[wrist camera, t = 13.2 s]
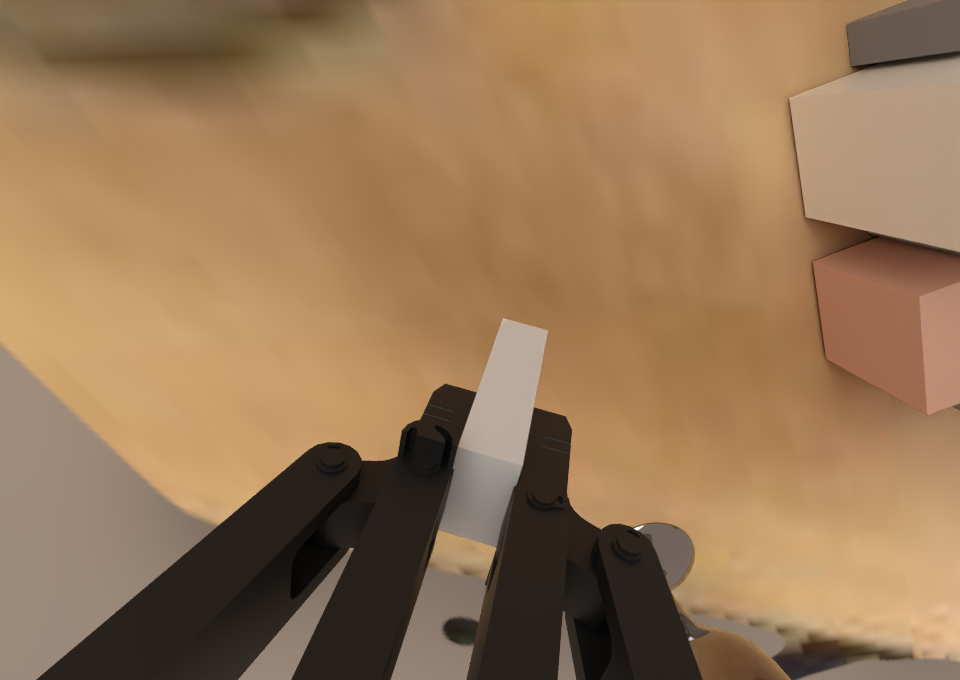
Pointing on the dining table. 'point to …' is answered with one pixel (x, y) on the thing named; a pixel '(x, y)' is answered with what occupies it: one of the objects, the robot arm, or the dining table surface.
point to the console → (906, 41)
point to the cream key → (885, 149)
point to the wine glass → (719, 654)
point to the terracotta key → (894, 319)
